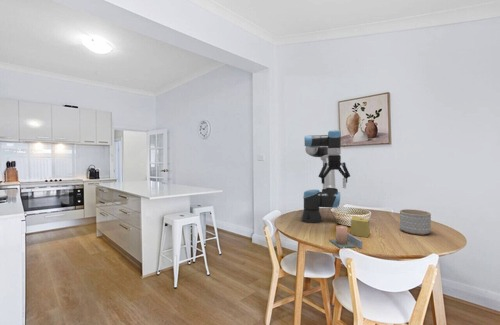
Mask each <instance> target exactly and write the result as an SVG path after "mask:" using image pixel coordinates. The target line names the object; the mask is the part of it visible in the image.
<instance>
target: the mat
mask: <svg viewBox="0 0 500 325" xmlns="http://www.w3.org/2000/svg"><path fill="white" fill-rule="evenodd" d="M329 242H330V243H331V244H333V245H335V247H337V248H338V249H340V248H341V249H344V248H343V247H347V248H346V249H351V248H356V247H357V246H355V245H354V244H352V243H351V242H349V241H348V244H346V245H340V244H337V243H336V238H335V239H329Z"/></svg>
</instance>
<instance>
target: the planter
mask: <svg viewBox="0 0 500 325" xmlns="http://www.w3.org/2000/svg"><path fill="white" fill-rule="evenodd" d="M431 218H432V214H431V213H430V212H428V211H425V210H420V209H405V208H404V209H401V210H399V229H400V230H401V231H403V232H404V233H407V234H411V235H415V234H416V236H424V235H425V234H426V235H428V234H430V233H431V227H432V219H431ZM426 235H425V236H426Z"/></svg>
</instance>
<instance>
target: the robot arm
mask: <svg viewBox="0 0 500 325" xmlns="http://www.w3.org/2000/svg"><path fill="white" fill-rule="evenodd" d="M341 134H342V133H341V130H339V129H332V130H328V132H327V134H323V135H322V134H321V135H317V134H316V135H314V134H313V135H311V134H310V135H305V136H304V148H305V152H306V154H307V155H308V156H311V157H314V158H320V160H321V161H322V168H321V170H320V172H319V175H318V176H317V177H318V178H321V184H322V189H321V191H320V189H308V190H305V191H304V192H303V211H302V214H301V217H300V218H301V221H302V222H305V223H308V224H309V223H310V224H318V223H322V220H323V217H322V215H321V212H320V208H330V209H331V208H332V209H334V208H335V209H336V208H339V206H340V204H341V203H340V202H341V192H340V191H339V190H338V188H337V187H336V173H335V170H336V171H338V172H339V173H340V174H341V176H342V188H343V189H347V183H348V178H350V177H351V174H350V172H349V169H348V167H347V166H346V165H347V164H346V162H343V161H342V162H341V160H342V158H341V154H342V153H341V151H342V150H341V144H342V143H341V141H342V138H341V137H342V135H341Z"/></svg>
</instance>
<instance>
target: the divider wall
mask: <svg viewBox="0 0 500 325" xmlns="http://www.w3.org/2000/svg"><path fill="white" fill-rule="evenodd" d="M348 242H350V243H351V244H353V245H354V246H356V247H357V248H359V249H363V241H362V240H361V239H359V238H357V236H355V235H351V233H349V232H348Z"/></svg>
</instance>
